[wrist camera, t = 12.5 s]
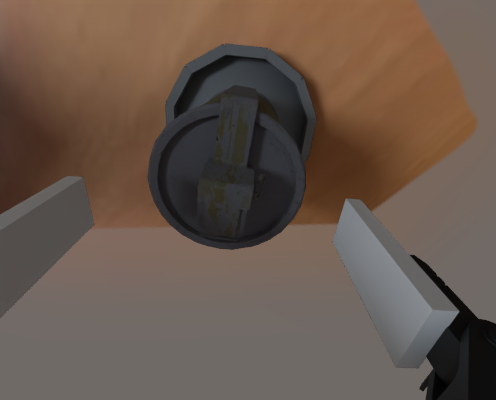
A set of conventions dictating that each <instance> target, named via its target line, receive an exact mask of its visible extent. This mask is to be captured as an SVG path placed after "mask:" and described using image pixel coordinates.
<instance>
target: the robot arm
mask: <svg viewBox="0 0 496 400" xmlns="http://www.w3.org/2000/svg"><path fill="white" fill-rule="evenodd" d="M93 225H94V221H93V216H92V212H91V208H90V204H89V199H88V195H87V191H86V187H85V182H84V178H83V177H75V176H66V177H64V178H63V179H61V180H59V181H57V182H56V183H54V184H52V185H50V186H49V187H47V188H45V189H43V190H42V191H40V192H38V193H37V194H35V195H33V196H31V197H30V198H28V199H26V200H24V201H23V202H21V203H19V204H17V205H16V206H14V207H12V208H11V209H9V210H7V211H5V212H4V213H2V214H0V318H1V317H2V316H3V315H4V314H5V313H6V312H7V311H8V310H9V309H10V308H11V307H12V306H13V305H14V304H15V303H16V302H17V301H18V300H19V299H20V298H21V297H22V296H23V295H24V294H25V293H26V292H27V291H28V290H29V289H30V288H31V287H32V286H33V285H34V284H35V283H36V282H37V281H38V280H39V279H40V278H41V277H42V276H43V275H44V274H45V273H46V272H47V271H48V270H49V269H50V268H51V267H52V266H53V265H54V264H55V263H56V262H57V261H58V260H59V259H60V258H61V257H62V256H63V255H64V254H65V253H66V252H67V251H68V250H69V249H70V248H71V247H72V246H73V245H74V244H75V243H76V242H77V241H78V240H79V239H80V238H81V237H82V236H83V235H84V234H85V233H86V232H87V231H88V230H89V229H90V228H91V227H92V226H93ZM333 244H334V246H335V248H336V250H337V252H338V254H339V256H340V258H341V260H342V262H343V264H344V266H345V268H346V270H347V272H348V274H349V276H350V278H351V280H352V282H353V284H354V286H355V288H356V290H357V292H358V293H359V296H360V298H361V300H362V301H363V304H364V306H365V307H366V309H367V312H368V313H369V316H370V318H371V320H372V322H373V323H374V326H375V328H376V329H377V331H378V334H379V335H380V337H381V339H382V341H383V343H384V345H385V347H386V349H387V351H388V353H389V355H390V357H391V359H392V361H393V363H394V365H395V367H398V368H399V367H400V368H419V367H420V365H421V364H422V363H423V361H424V360H425V358H426V357H427V359H428V360H429V362H430V363H431V365H432V366H433V368H434V369H433V370H432V371H431V373H430V374H429V375H428V377H427V378H426V379H425V380H424V382H423V383H422V384H421V386H420V390H422V391H424V390H425V388H426V387H428V388H427V395H426V400H496V324H495V323H492V322H490V321H487V320H482V319H478V318H477V317H476V316H475V315H474V314H473V313H472V312H471V311H470V309H469V308H468V307H467V306H466V305H465V304H464V303H463V302H462V301H461V300H460V299H459V298H458V297H457V295H456V294H455V293H454V292H453V291H452V290H451V289H450V288H449V287H448V286H446V285H445V283H444V282H443V281H442V279H441V278H440V277H437V275H436V273H435V272H434V271H433V270H432V269H431V268H430V267H429V266H428V265H427V264H426V263H425V262H423V261H422V260H420V259H419V258H417V257H416V256H415V255H409V254H408V253H407V252H406V251H405V249H404V248H403V247H402V246H401V245H400V244H399V243H398V242H397V240H396V239H395V238H394V237H393V236H392V235H391V234H390V232H389V231H388V230H387V229H386V228H385V227H384V226H383V225H382V223H381V222H380V221H379V220H378V219H377V218H376V217H375V216H374V214H373V213H372V212H371V211H370V210H369V209H368V208H367V207H366V205H365V204H364V203H363V202H362V201H361V200H358V199H346V200H345V203H344V206H343V209H342V213H341V216H340V219H339V222H338V226H337V229H336V232H335V236H334V238H333Z"/></svg>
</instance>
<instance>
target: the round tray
mask: <svg viewBox="0 0 496 400" xmlns="http://www.w3.org/2000/svg"><path fill="white" fill-rule="evenodd" d="M302 77H303V76H301V75H300V74H299V73H298V72H297V71H295V70H294V69H293V68H292V67H291V66H290V65H288V64H287V63H286V62H285V61H284V60H283V59H281V58H280V57H279V56H278V55H277V54H275V53H274V52H273V51H272V50H271V49H270V50H269V51H268V48H263V47H253V46H244V45H234V44H225V46H224V44H222V45H220V46H218V47H217V48H215V49H213V50H211V51H209V52H208V53H206V54H204V55H202V56H200V57H199V58H197V59H195V60H193V61H192V62H190V63H188V64H186V66H184V68H183V70H182V72H181V74H180V76H179V78H178V80H177V82H176V83H175V85H174V87H173V89H172V91H171V93H170V95H169V97H168V99H167V101H166V103H167V104H166V105H165V109H166V125H168V124H169V123H170V122H172V121H173V120H174V119H175V118H177V117H178V116H179V115H181V114H183V113H185V112H187V111H189V110H191V109H193V108H195V107H198V106H202V105H203V104H205V103H206V102H208V101H209V100H210V99H211V98H212V97H213V96H214V95H215V94H217V93H219V92H221V91H223V90H225V89H228V88H230V87H232V86H233V85H239V86H244V87H249V88H255V89H256V91H257V92H258V93H260V94H262V95H263V96H264V97H265V98H267V99H268V101H269V102H270V103H271V104H272V105H273V107H274V109H275V110H276V113H277V115H278V118H279V122H280V124H281V125H282V126H283V127H284V128H285V129H286V130H287V131H288V132H289V134H290V135H291V137H292V138H293V139H294V141H295V142H296V144H297V146H298V148H299V151H300V153H301V155H302V157H303V161H304V162H305V161H306V160H307V159H308V157H309V153H310V148H311V144H312V139H313V134H314V130H315V125H316V120H317V119H315V118H317V117H316V114H315V111H314V108H313V105H312V102H311V99H310V96H309V92H308V89H307V86H306V83H305V80H304V78H302ZM307 156H308V157H307Z"/></svg>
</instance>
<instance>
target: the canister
mask: <svg viewBox="0 0 496 400" xmlns="http://www.w3.org/2000/svg"><path fill="white" fill-rule="evenodd" d="M148 182H149V187H150V191H151V194H152V197H153V200H154V202H155V204H156V206H157V208H158V209H159V211H160V213H161V215H162V216H163V217H164V218H165V219H166V220H167V222H168V223H169V224H170V225H171V226H172V227H174V228H175V229H176V230H177V231H178V232H180V233H181V234H182V235H184V236H186V237H187V238H189V239H191V240H193V241H195V242H197V243H200V244H203V245H206V246H210V247H215V248H219V249H232V250H233V249H239V248H245V247H252V246H255V245H258V244H260V243H263V242H265V241H268V240H270V239H271V238H273V237H274V236H276V235H277V234H279V233H280V232H282V230H283V229H284V228H285V227H286V226H287V225H288V224H289V223H290V222H291V221H292V220H293V218H294V217H295V215H296V213H297V212H298V210H299V208H300V207H301V203H302V200H303V196H304V192H305V188H306V171H305V164H304V161H303V157H302V155H301V153H300V151H299V148H298V146H297V144H296V142H295V141H294V139H293V138H292V137H291V135H290V134H289V132H288V131H287V130H286V129H285V128H284V127H283V126H282V125H281V124H280V122H279V118H278V115H277V113H276V110H275V109H274V107H273V105H272V104H271V103H270V102H269V101H268V99H267V98H265V97H264V96H263V95H262V94H260V93H258V92H257V91H256V89H255V88H249V87H244V86H239V85H233V86H232V87H230V88H228V89H225V90H223V91H221V92H219V93H217V94H215V95H214V96H213V97H212V98H211V99H210V100H209V101H208V102H206V103H205V104H203V105H202V106H198V107H195V108H193V109H191V110H189V111H187V112H185V113H183V114H181V115H179V116H178V117H177V118H175V119H174V120H173V121H172V122H170V123H169V124H168V125H167V126H166V128H165V129H164V130H163V132H162V133H161V134H160V136H159V137H158V138H157V140H156V141H155V144H154V147H153V150H152V153H151V156H150V162H149V170H148Z"/></svg>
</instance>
